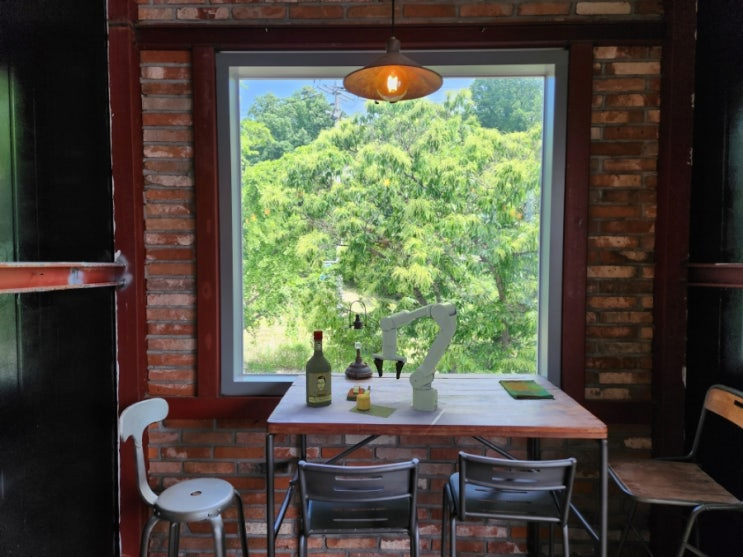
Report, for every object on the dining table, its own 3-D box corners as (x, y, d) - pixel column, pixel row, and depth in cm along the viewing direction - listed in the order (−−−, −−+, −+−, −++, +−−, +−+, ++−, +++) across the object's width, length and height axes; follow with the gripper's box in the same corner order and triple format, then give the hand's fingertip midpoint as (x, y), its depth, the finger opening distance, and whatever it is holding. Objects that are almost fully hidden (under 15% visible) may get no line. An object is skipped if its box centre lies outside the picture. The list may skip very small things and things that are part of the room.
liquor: (305, 402, 176) (304, 330, 174) (326, 400, 179) (326, 328, 177) (310, 410, 168) (309, 334, 166) (332, 407, 171) (332, 332, 169)
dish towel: (513, 400, 180) (513, 394, 180) (497, 383, 204) (497, 378, 204) (555, 401, 180) (555, 395, 180) (534, 383, 204) (534, 378, 203)
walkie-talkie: (367, 405, 174) (371, 389, 194) (367, 394, 174) (371, 379, 194) (345, 404, 175) (352, 388, 195) (345, 394, 175) (352, 379, 195)
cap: (372, 405, 168) (372, 394, 168) (366, 410, 164) (366, 398, 164) (360, 404, 171) (360, 392, 170) (354, 408, 166) (354, 396, 166)
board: (397, 411, 167) (397, 408, 167) (387, 420, 158) (387, 417, 158) (360, 405, 174) (359, 402, 173) (348, 413, 164) (348, 411, 164)
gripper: (369, 345, 176) (369, 378, 177) (402, 348, 170) (402, 382, 171) (376, 341, 182) (376, 373, 183) (408, 345, 176) (408, 377, 177)
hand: (389, 377), depth 177 cm, fingers open, 7 cm apart
